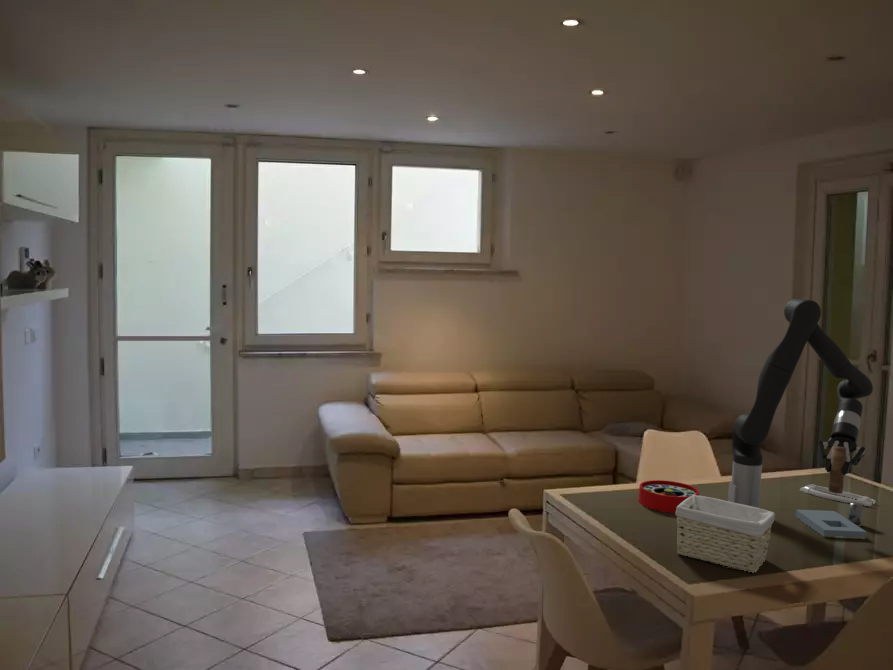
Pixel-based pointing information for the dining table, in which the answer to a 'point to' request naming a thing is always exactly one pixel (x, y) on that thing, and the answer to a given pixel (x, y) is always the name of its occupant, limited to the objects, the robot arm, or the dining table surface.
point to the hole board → (830, 523)
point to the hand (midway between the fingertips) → (836, 472)
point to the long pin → (837, 469)
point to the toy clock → (664, 494)
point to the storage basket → (723, 532)
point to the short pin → (855, 513)
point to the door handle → (815, 491)
